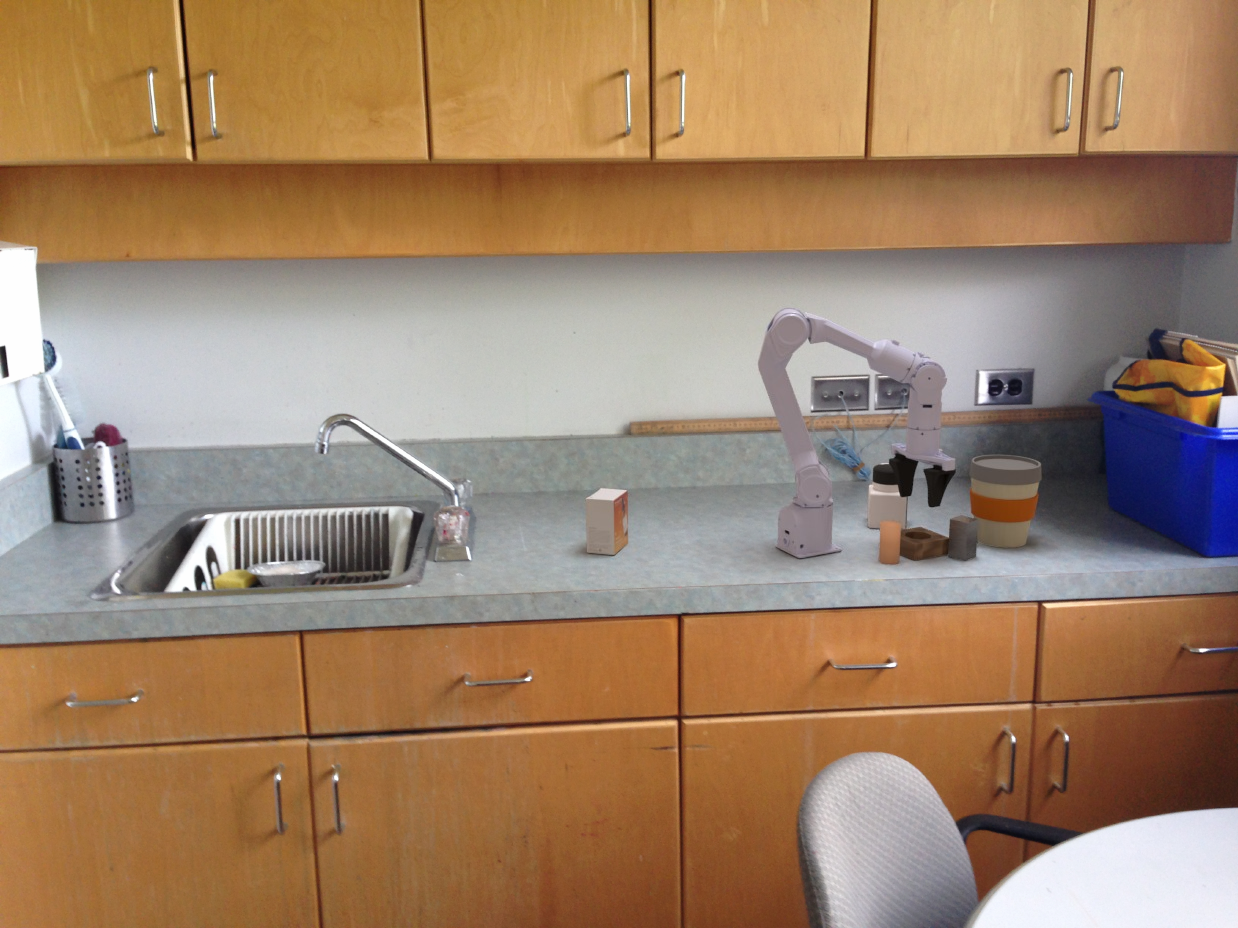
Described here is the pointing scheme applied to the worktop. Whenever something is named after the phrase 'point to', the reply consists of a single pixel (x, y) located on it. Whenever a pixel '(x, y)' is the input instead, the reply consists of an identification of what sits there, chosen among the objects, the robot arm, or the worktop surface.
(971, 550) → the square bit
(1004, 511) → the reusable coffee cup
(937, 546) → the bore block
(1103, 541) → the worktop surface
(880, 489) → the medicine bottle
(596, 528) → the small box
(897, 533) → the round bit
